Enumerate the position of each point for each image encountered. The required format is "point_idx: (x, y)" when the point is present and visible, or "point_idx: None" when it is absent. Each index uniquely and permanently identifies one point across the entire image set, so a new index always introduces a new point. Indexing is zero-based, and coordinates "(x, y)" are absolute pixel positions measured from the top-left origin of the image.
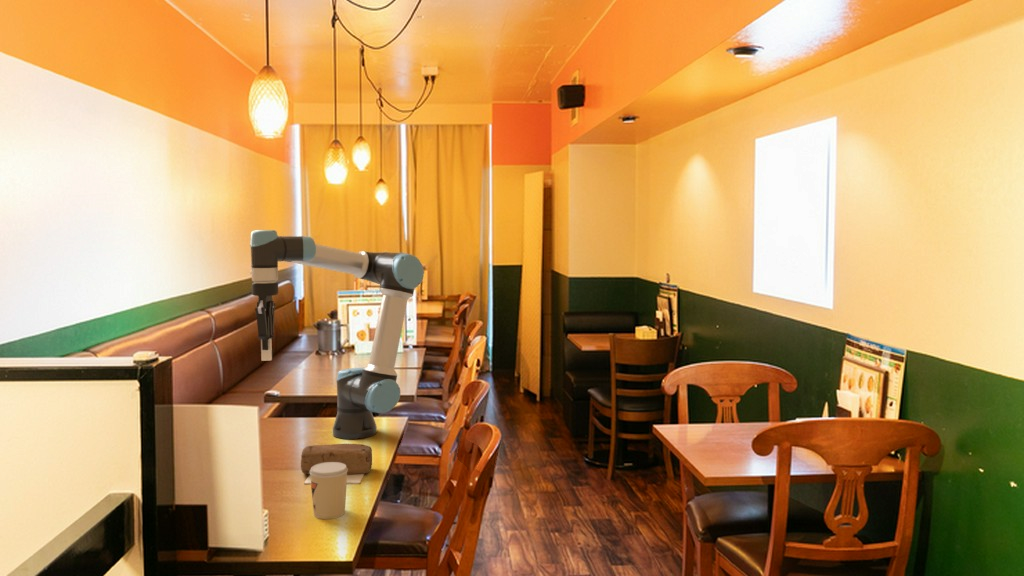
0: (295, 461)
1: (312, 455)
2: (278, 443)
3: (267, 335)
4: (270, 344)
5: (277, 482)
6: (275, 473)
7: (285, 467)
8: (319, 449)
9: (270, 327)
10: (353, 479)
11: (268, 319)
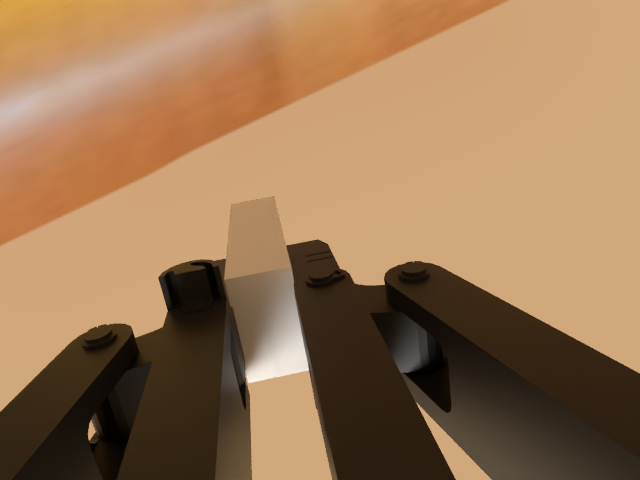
0: (191, 61)
1: None
2: (9, 209)
3: (426, 270)
4: (273, 244)
5: (395, 33)
6: (318, 76)
7: (257, 69)
8: None
9: (222, 375)
10: None
11: (412, 470)
